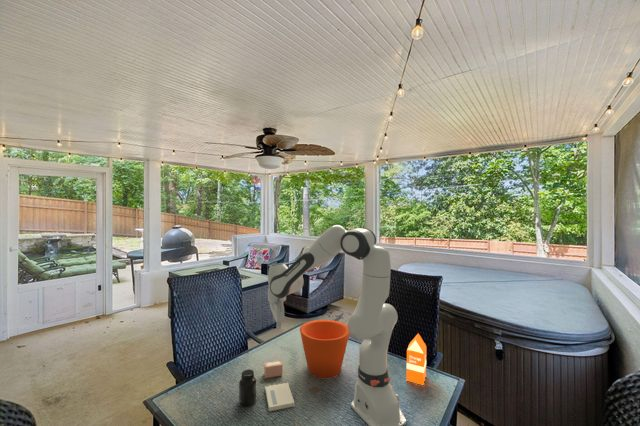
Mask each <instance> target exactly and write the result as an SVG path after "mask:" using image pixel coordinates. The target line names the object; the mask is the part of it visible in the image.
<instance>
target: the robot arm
mask: <svg viewBox="0 0 640 426" xmlns="http://www.w3.org/2000/svg"><path fill="white" fill-rule="evenodd" d="M376 242H377V237H376V234H375V233H374V232H373V231H372V230H371V229H370V228H365V227H361V228H360V227H357V228H353V229H349V230H346V228H345V227H343V226H341V225H340V224H334V225H331V226H330V227H329V228H327V229H326V230H325V231H324V232H323V233H321V234H320V236H319V237H318V238H316V240H315V241H314V242H313V243H312V244H311V245H310V246H309V247H308V248H307V250H305V251H304V252H303V253H302V254H301V255H300V256H299V257H298V258H297V259H296V260H295V261H294V262H293V263H292V264H291V265H289V267H288V266H287V265H286V264H285V263H284V262H279V263H274V264H271V265H270V266H269V268H268V274H267V275H268V276H267V283H268V288H267V301H268V302H269V308H270V310H271V313H272V319H273V323H276V329H277V330H281V329H282V327H281V325H282V323H283V322H285V306H284V302H286V301H287V296H290V295H291V294H293V293H295V292H298V291H300V290H302V288H304V284H305V283H304V282H305V280H304V278H305V277H303V275H304V274H305V273H306V272H309V271H310V270H312V269H314V268H318V267H320V266H323V265H326V263H329V262H331V260H333V259H334V258H335V257H336V256H337V255H338V254H340V252H341V251H343V253H345V254H346V255H348V256H350V257H353V258H355V259H357V260H362V262H363V263H362V265H363V266H362V269H363V270H362V279H361V280H362V282H361V290H360V295H359V298H358V301H357V303H356V306H355V308H354V311H353V312H352V313H351V315H350V316H349V317H348V320H347V326H348V330H349V332H350V334H349V335H351V337H353V338H354V339H355V340H357V341H362V342H361V344H360V346H359V358H358V367H357V381H356V382H355V385H354V397H353V400H352V401H351V403H350V407H351V408H352V410H353V411H354V412H355V413H356V414H357V415H358V416H359V417H360V418H361V419H362V420H363V422H365V423H366V424H367V425H368V426H403V425H404V424H405V423H406V424H407V419H406V416H405V415H404V414H403V412H402V410H401V408H400V404H399V401H400V397H399V394H397V393H395V391H394V387H393V385H391V382H390V380H391V377H390V374H389V370H388V350H389V345H390V340H391V336H392V334H393V330H394V327H395V325H396V324H397V323H398V318H399V317H398V312H397V310H396V308H395V307H394V306H393V305H392V304H390V303H385V302H386V301H387V299H388V298H389V296H390V290H391V289H390V288H391V268H392V267H391V258H390V257H391V256H390V252H389V250H387V248H385V247H382V246H379V245H376V244H377V243H376ZM400 423H401V424H400ZM406 424H405V425H406ZM405 425H404V426H405Z"/></svg>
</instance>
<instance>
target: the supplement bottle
mask: <svg viewBox="0 0 640 426" xmlns="http://www.w3.org/2000/svg"><path fill="white" fill-rule="evenodd" d="M254 374H255V373H254V370H253V369H245V370H242V372H241V378H240V380H239V381H238V404H239V406H241V407H242V408H249V407H252V406H254V405H255V404H256V402H257V379H256V377H255V375H254Z"/></svg>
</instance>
